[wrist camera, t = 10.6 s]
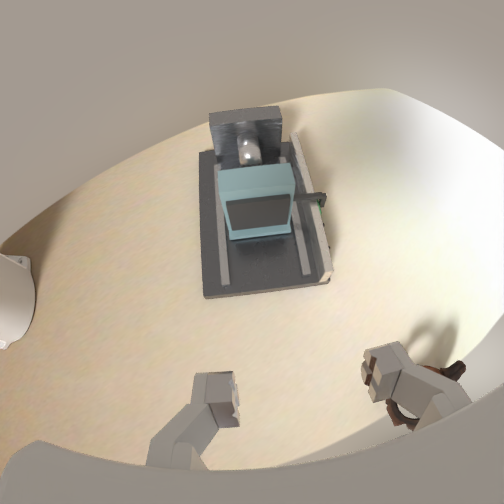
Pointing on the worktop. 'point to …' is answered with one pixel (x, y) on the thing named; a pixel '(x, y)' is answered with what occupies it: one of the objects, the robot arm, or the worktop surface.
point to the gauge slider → (260, 199)
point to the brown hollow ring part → (399, 419)
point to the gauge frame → (262, 247)
